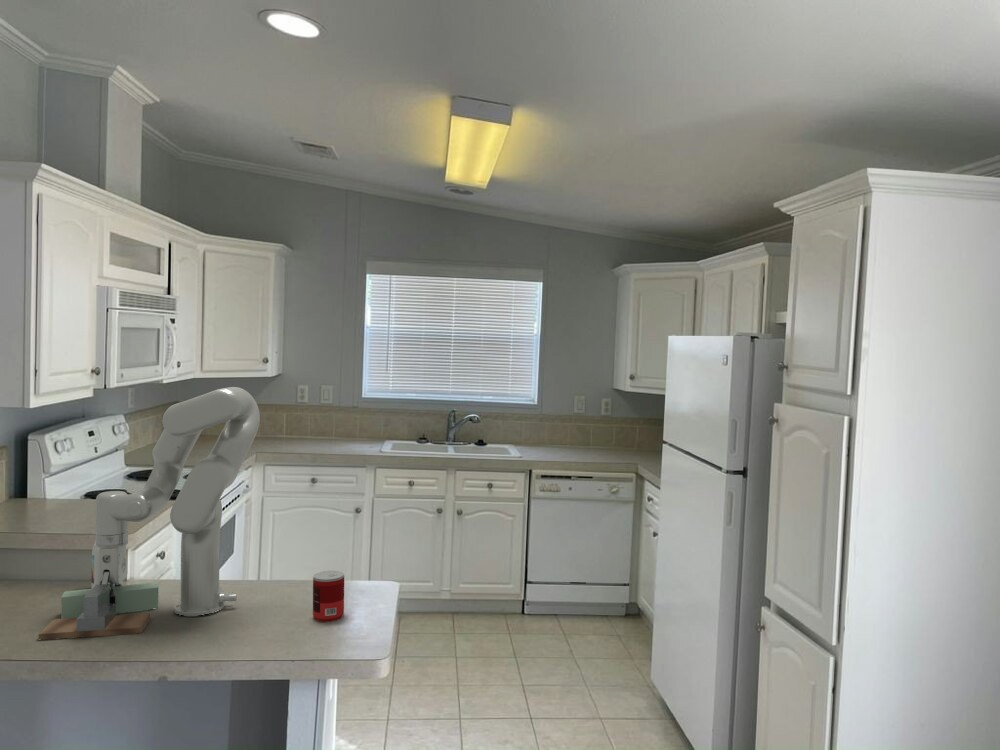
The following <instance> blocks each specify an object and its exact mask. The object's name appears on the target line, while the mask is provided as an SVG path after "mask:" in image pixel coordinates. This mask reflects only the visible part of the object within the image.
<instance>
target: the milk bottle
mask: <svg viewBox="0 0 1000 750" xmlns="http://www.w3.org/2000/svg"><path fill="white" fill-rule="evenodd" d="M98 561H99V548H97V547H96V540H95V541H94V543H93V546H92V549H91V578H90V579H91V582H90V583H91V586H90V587H91V589H93V588H94V587H95V586H96V585H99V584H98ZM108 584H109V582H108Z"/></svg>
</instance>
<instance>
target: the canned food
mask: <svg viewBox="0 0 1000 750" xmlns="http://www.w3.org/2000/svg"><path fill="white" fill-rule="evenodd" d="M344 613H345V573H344V572H343V571H340V570H324V571H320V572H316V573H314V574H313V577H312V617H313V620H315V621H316V622H320V623H327V622H329V623H331V622H334V621H337V620H340V619H342V617H344Z"/></svg>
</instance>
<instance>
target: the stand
mask: <svg viewBox="0 0 1000 750" xmlns="http://www.w3.org/2000/svg"><path fill="white" fill-rule="evenodd" d="M91 589H92V588H91ZM151 616H152V615H151V612H141V613H127V614H126V613H124V614H116V603H112V604H110V584H99V585H96V586H95V587H94V588H93V589H92V590H91V591H90V592H89V593H88V594H87V595H86V596H85V597H84V612H83V613H82V614H81V615H80V616H79V617H78V618H65V619H61V618H53V619H52V621H50V622H49V623H48V624H47V625H46V626H45V628H43V629H42V630H41V631H40V632H39V633H38V639H53V640H57V639H56V638H67V639H76V638H77V637H78V638H79V637H81V638H91V637H92V638H93V637H107V636H120V635H130V634H131V635H132V634H142V632H143V631H144V630H145V628H146V627H147V625H148V623H149V622H150V621H151V618H152V617H151ZM78 638H77V639H78ZM79 639H80V638H79Z"/></svg>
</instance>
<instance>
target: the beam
mask: <svg viewBox="0 0 1000 750" xmlns="http://www.w3.org/2000/svg"><path fill="white" fill-rule="evenodd" d="M159 585H160V583H159V581H156V582H146V583H145V582H144V583H138V584H137V583H136V584H128V585H122V586H115V588H114V596H115V603H116V615H120V614H126V612H128V613H134V612H144V611H143V610H145V611H149V610H148V609H153V608H158V609H159V589H160V587H159ZM91 590H92V588H87V589H85V588H84V589H77V590H76V589H75V590H66V591H65V590H64V592H63V594H62V596H61V609H60V610H61V618H60V619H65V618H78V617H79V616H80V615H81V614H82V613H83V612H84V597H85V596H86V595H87V594H88V593H89V592H90V591H91ZM110 590H111V587H110Z"/></svg>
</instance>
